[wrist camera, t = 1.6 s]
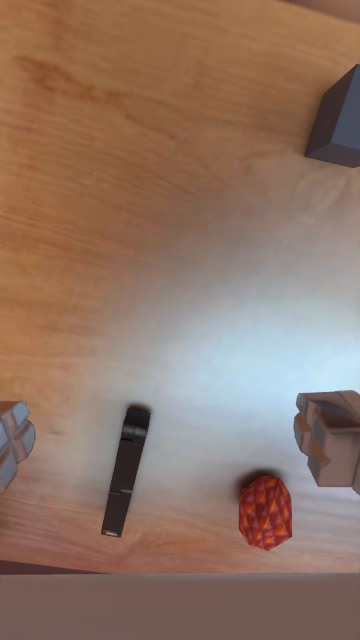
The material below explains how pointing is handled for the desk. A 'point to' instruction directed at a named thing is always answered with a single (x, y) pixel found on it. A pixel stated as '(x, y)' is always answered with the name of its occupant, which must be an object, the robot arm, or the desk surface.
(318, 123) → the block
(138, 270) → the desk surface
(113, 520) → the black stapler
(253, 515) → the decorative stone
